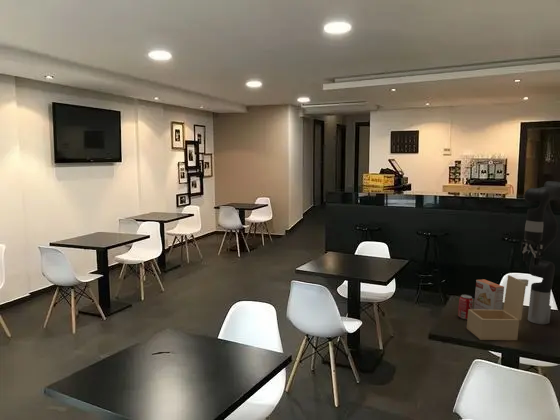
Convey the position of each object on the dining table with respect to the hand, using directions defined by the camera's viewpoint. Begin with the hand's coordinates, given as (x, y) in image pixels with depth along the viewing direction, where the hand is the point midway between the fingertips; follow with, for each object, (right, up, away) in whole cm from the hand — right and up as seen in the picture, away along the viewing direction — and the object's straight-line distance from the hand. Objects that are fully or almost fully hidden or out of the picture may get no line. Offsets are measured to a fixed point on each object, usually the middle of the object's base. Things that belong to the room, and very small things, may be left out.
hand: (530, 263), depth 213 cm
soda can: (-21, -33, +25) cm, 47 cm away
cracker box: (-11, -34, +22) cm, 41 cm away
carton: (-17, -35, +4) cm, 40 cm away
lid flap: (-7, -17, +2) cm, 18 cm away
